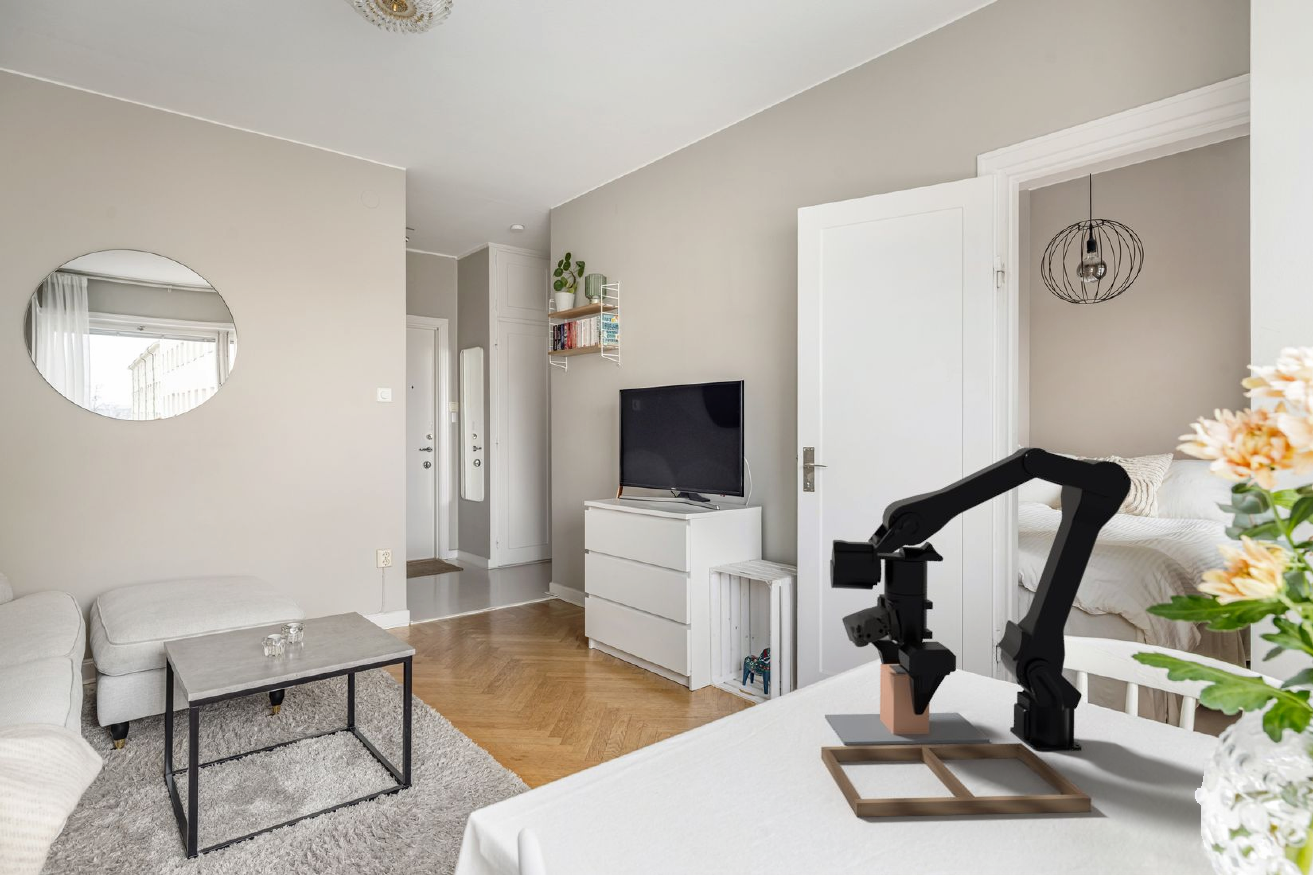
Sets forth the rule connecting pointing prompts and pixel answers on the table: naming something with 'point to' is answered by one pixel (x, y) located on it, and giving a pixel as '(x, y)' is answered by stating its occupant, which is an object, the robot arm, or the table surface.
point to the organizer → (953, 781)
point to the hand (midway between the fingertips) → (904, 701)
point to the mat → (875, 732)
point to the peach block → (899, 703)
